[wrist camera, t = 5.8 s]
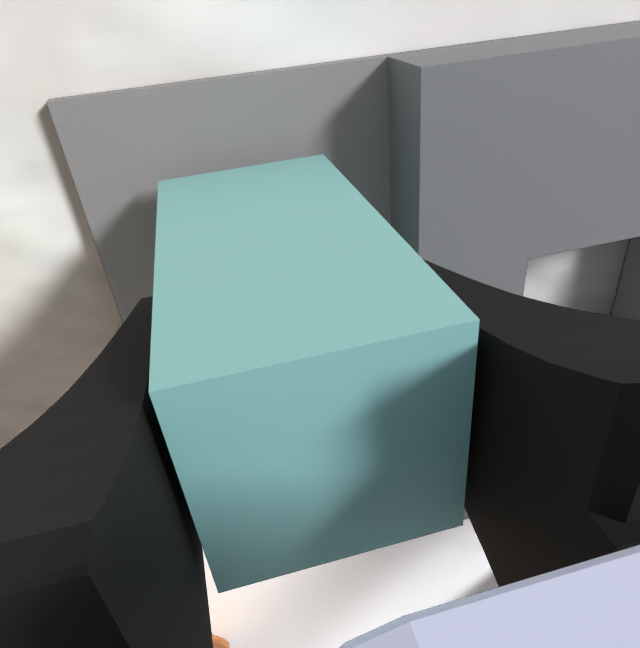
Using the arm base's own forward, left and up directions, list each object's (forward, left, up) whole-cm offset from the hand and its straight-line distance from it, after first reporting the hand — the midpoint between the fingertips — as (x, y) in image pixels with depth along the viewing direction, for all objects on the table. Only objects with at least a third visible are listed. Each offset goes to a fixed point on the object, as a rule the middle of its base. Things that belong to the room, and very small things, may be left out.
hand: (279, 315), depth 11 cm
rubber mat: (0, 0, -5) cm, 5 cm away
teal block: (0, 0, -3) cm, 4 cm away
